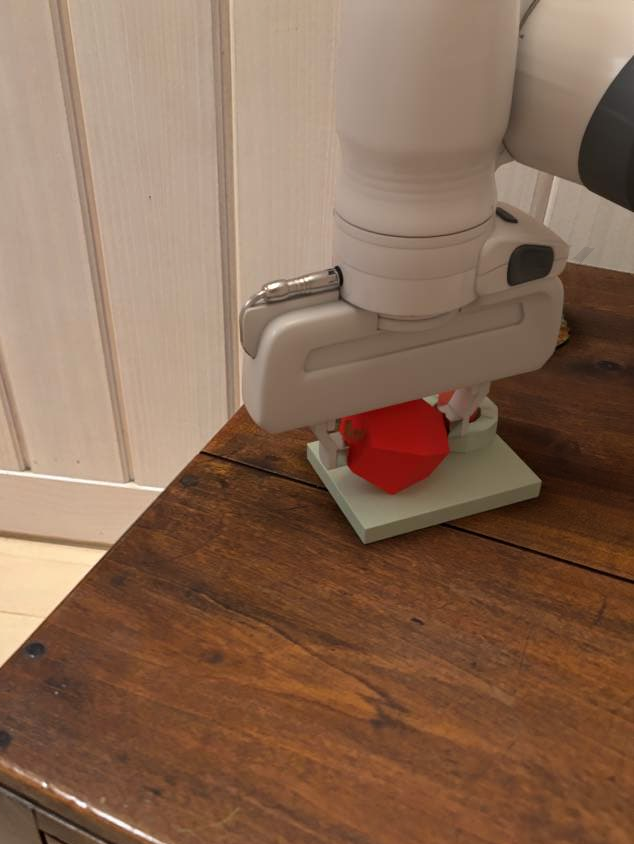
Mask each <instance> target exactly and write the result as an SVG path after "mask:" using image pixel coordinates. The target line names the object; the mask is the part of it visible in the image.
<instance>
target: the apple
mask: <svg viewBox="0 0 634 844" xmlns="http://www.w3.org/2000/svg"><path fill="white" fill-rule="evenodd" d="M338 432H340V433H341V434H342V436H343V440H345V441H347V443H348V444H349V445H350V455H349V457H348V458H349V460H350V463H349V465H347V466H348V467H349V469H350V470H351V471H352V473H354V474H356V475H358V476H359V477H361V478H363V479H364V480H366V481H368V482H370V483H371V484H373V485H375V486H377V487H378V488H380V489H382V490H383V491H385V492H387V493H389V494H390V495H394V494H396V493H398V492H400V491H402V490H403V489H405V488H407V487H409V486H411V485H413V484H415V483H417V482H419V481H421V480H423V479H425V478H427V477H429V475H430V474H431V473H432V472H433V471H434V470H435V469H436V468H437V466H438V465H439V464H440V463H441V462H442V461H443V460H444V459H445V458H446V456H447V455H448V454H449V453H450V449H449V444H448V438H447V432H446V426H445V421H444V415H443V414H441V413H440V412H439V411H438V410H436V409H435V408H434V407H433V406H431V405H430V404H429V403H427V402H426V401H425V400H424V399H422V398H421V399H416V400H412V401H408V402H404V403H400V404H396V405H392V406H388V407H384V408H380V409H376V410H372V411H368V412H364V413H360V414H355V415H351V416H347V417H343V418H341V422H340V425H339V431H338Z"/></svg>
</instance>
